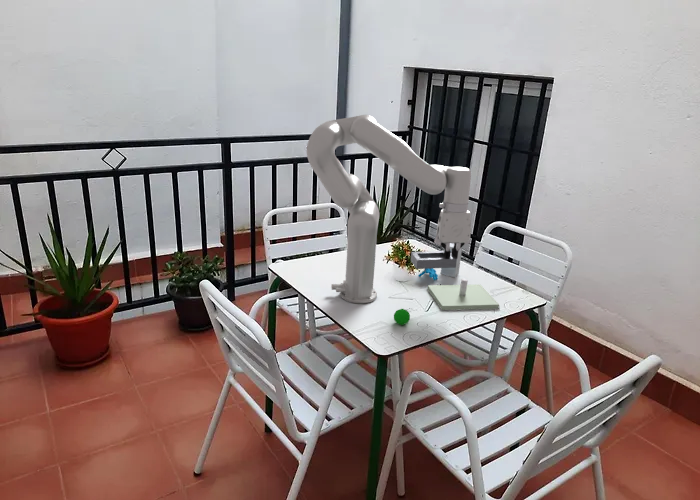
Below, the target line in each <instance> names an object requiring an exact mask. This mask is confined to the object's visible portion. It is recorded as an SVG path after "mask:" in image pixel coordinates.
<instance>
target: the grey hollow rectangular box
mask: <svg viewBox="0 0 700 500" xmlns="http://www.w3.org/2000/svg"><path fill="white" fill-rule="evenodd" d="M410 262H411V263H412V264H413V266H414V267H415V269H416V270H422V269H423V270H424V269H431V268H433V269H441V268H456V262H457V259H456V257H455V256H454V255H453V254H452V253H451V256H450V257H446V258H444V251H443V250H436V251H435V250H434V251H411V253H410Z"/></svg>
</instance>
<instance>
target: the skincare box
mask: <svg viewBox="0 0 700 500" xmlns="http://www.w3.org/2000/svg"><path fill="white" fill-rule="evenodd" d="M453 247H454V243H450V251H451V252H452V248H453ZM444 250H445V249H444V248H443V250H442V251H444ZM462 251H463V246H462V247H461V248H460V250H459V251H458V258H457V262H456V268H440V274H441V275H443V276H446V277H451V278H456V277H457V276H459V274H460V265H461V259H462V258H461V257H462Z"/></svg>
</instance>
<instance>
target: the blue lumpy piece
mask: <svg viewBox="0 0 700 500" xmlns="http://www.w3.org/2000/svg"><path fill="white" fill-rule="evenodd" d="M425 274H429V275H428V276H429V278H430V279H432V280H433V281H437V280H438V279H439V274H437V270H436V268H431V269H423V270H422V271H421V272H420V273H419V274H418V275H417V276H418V277H419V278H421V277H422V276H423V275H425Z"/></svg>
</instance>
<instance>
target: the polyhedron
mask: <svg viewBox="0 0 700 500" xmlns="http://www.w3.org/2000/svg"><path fill="white" fill-rule="evenodd" d="M393 319H394V322H395V324H398V325H400V326H403V325H406V324H408V323H409V321H410V319H411V315H410V312H409V311H408V310H407V309H404V308H400V309H397V310H395V312H394V313H393Z"/></svg>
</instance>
